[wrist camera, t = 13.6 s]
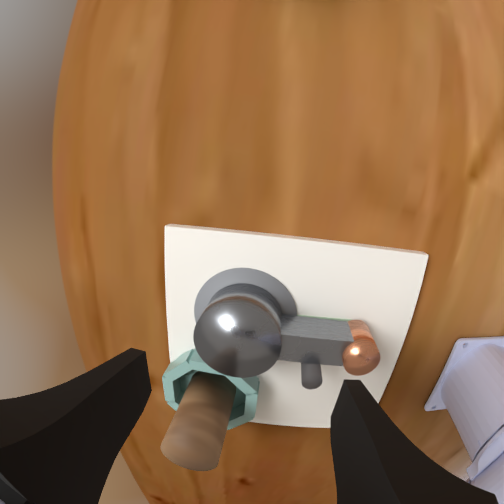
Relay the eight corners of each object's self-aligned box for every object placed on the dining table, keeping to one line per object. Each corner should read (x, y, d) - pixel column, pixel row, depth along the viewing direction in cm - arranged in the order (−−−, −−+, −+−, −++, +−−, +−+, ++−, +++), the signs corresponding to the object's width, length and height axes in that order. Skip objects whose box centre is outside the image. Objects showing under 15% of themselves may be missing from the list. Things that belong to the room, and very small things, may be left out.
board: (423, 251, 17) (458, 276, 12) (365, 421, 21) (373, 461, 17) (169, 223, 19) (134, 241, 14) (178, 401, 23) (160, 439, 18)
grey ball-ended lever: (205, 343, 19) (192, 372, 16) (208, 277, 18) (192, 299, 15) (357, 362, 19) (366, 392, 15) (377, 299, 17) (392, 324, 14)
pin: (237, 373, 20) (217, 447, 13) (235, 405, 21) (218, 475, 14) (189, 365, 20) (156, 433, 14) (191, 397, 21) (164, 462, 15)
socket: (263, 355, 20) (260, 371, 18) (254, 418, 21) (252, 434, 20) (168, 340, 20) (159, 353, 18) (175, 404, 22) (168, 417, 20)
